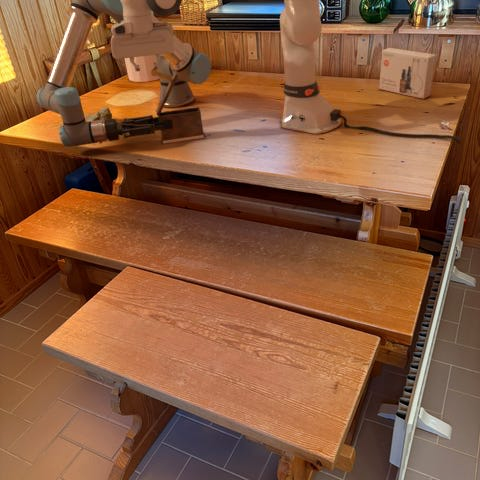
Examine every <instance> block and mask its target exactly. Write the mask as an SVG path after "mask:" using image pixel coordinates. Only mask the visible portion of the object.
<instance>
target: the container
mask: <svg viewBox="0 0 480 480" xmlns="http://www.w3.org/2000/svg"><path fill="white" fill-rule="evenodd" d="M134 62H135V63H136V65H139V68H140V71H135V66H134V65H133V64H132V63H131V62H130V58H124V63H125V68H126V72H127V77H128V80H129V81H130V82H134V83H144V82H152V81H157V80H160V78H159V77H158V76H152V75H151V69H152V68H154V64H153V63H156V55H150V56H141V57H134ZM157 71H158V69H157Z"/></svg>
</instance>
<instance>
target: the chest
mask: <svg viewBox="0 0 480 480" xmlns="http://www.w3.org/2000/svg"><path fill="white" fill-rule="evenodd" d="M157 117H158V119H159V122H163V121H170V120H172V124H173V128H172V129H165V130H160V135H161V140H162V144H169V143H176V142H184V141H190V140H198V139H204V138H205V134H204V127H203V119H202V112H201V108H200V106H195V107H191V108H190V107H188V108H181V109H175V110H170V111H169V110H168V111H167V110H166V111H161V113H160V115H159V116H158V115H157Z"/></svg>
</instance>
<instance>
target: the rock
mask: <svg viewBox="0 0 480 480" xmlns="http://www.w3.org/2000/svg"><path fill="white" fill-rule="evenodd" d="M106 119H113V113H112V112H111V109H110V107H108V106H106V105H105V106H103V107H102V108H101V109H98V110H97V111H96V113H87V114H85V120H86V122H90V121H97V120H103V121H105V120H106Z"/></svg>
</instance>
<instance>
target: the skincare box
mask: <svg viewBox="0 0 480 480" xmlns="http://www.w3.org/2000/svg"><path fill="white" fill-rule="evenodd" d="M436 57H437V54H435V53H427V52H423V51H422V52H420V51H413V50H407V49H400V48H395V47H394V48H393V47H387V48H385V49H382V50H381V61H380V74H379V86H378V87H379V88H378V89H379V90H383V91H387V92H391V93H395V94H399V95H405V96H409V97H414V98H418V99H422V100H424V99H426V98H428V97H430V96H431V91H432V86H433V85H432V84H433V78H434V73H435V72H434V71H435V70H434V69H435V64H436Z"/></svg>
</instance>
